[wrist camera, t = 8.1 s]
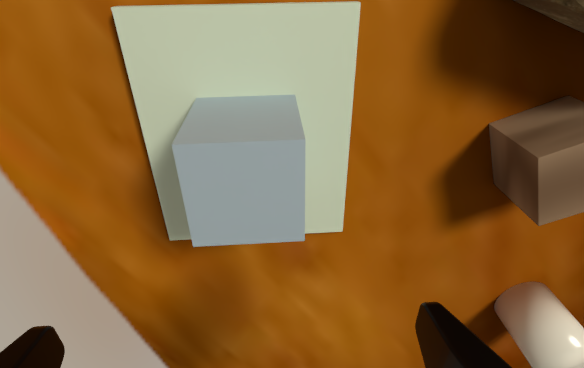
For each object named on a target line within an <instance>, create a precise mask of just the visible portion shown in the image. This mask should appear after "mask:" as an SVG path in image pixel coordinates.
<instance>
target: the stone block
mask: <svg viewBox="0 0 584 368" xmlns="http://www.w3.org/2000/svg"><path fill="white" fill-rule="evenodd" d="M513 1H515V2H517V3H520V4H522V5H524V6H526V7H529V8H531V9H533V10H535V11H537V12H539V13H542V14H544V15H546V16H548V17H550V18H552V19H554V20H556V21H558V22H560V23H562V24H564V25H566V26H569V27H571V28H573V29H575V30H578V31H580V32H582V33H584V0H513Z"/></svg>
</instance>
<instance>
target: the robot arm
mask: <svg viewBox="0 0 584 368" xmlns="http://www.w3.org/2000/svg"><path fill="white" fill-rule="evenodd" d="M415 328H416V334H417V338H418V341H419V345H420V349H421V352H422V356H423V360H424V363H425V367H426V368H512V367H511V366H510V365H509V364H507V363H506V362H505V361H504V360H503V359H502V358H501V357H500V356H498V355H497V354H496V353H495V352H494V351H493V350H492V349H491V348H490V347H488V346H487V345H486V344H485V343H484V342H483V341H482V340H481V339H479V338H478V337H477V336H476V335H475V334H474V333H473V332H472V331H470V330H469V329H468V328H467V327H466V326H465V325H464V324H463V323H461V322H460V321H459V320H458V319H457V318H456V317H455V316H454V315H452V314H451V313H450V312H449V311H448V310H447V309H446V308H445V307H443V306H442V305H441V304H440V303H438V302H425V303H422V304H421V305H420V308H419V312H418V316H417V320H416V324H415ZM63 357H64V345H63V343H62V341H61V340H60V338H59V336H58V334H57V333H56V331H55V329H54V328H53V327H51V326H37V327H33V328H31V329H29V330H28V331H27V332H25V333H24V334H23V335H21V336H20V337H19V338H18V339H16V340H15V341H14V342H13V343H12V344H10V345H9V346H8V347H7V348H5V349H4V350H3V351H2V352H0V368H60V367H61V364H62V361H63Z"/></svg>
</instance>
